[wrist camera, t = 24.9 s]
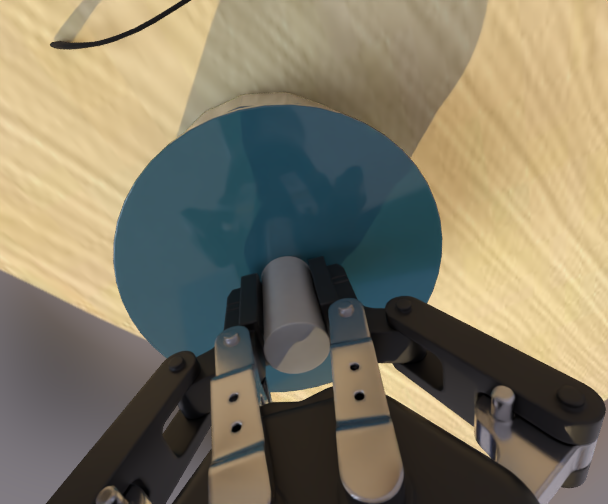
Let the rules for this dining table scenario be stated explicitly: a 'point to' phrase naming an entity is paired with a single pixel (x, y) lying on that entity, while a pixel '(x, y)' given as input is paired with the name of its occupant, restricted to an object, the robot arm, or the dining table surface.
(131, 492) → the robot arm
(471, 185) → the dining table surface
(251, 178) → the lid
